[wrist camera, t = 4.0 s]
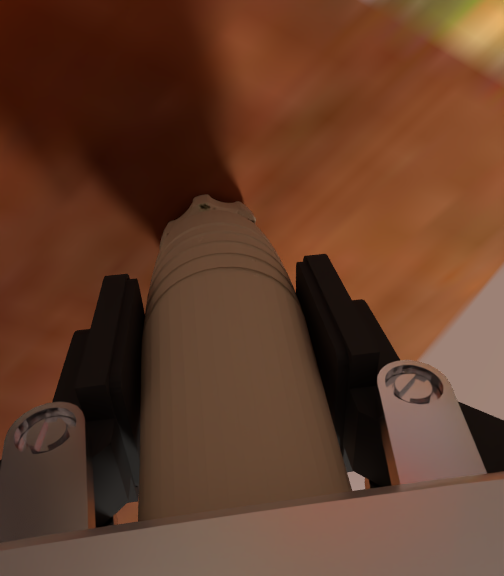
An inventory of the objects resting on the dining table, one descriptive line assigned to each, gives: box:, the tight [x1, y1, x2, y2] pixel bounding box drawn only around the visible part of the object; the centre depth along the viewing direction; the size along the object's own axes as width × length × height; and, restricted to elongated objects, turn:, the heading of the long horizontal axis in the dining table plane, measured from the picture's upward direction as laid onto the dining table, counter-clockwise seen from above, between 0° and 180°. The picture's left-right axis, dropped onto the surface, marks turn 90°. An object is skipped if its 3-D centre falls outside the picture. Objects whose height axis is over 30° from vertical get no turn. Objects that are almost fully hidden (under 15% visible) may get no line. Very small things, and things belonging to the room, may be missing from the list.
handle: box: [138, 194, 352, 522], centre depth 10 cm, size 5×6×15 cm
